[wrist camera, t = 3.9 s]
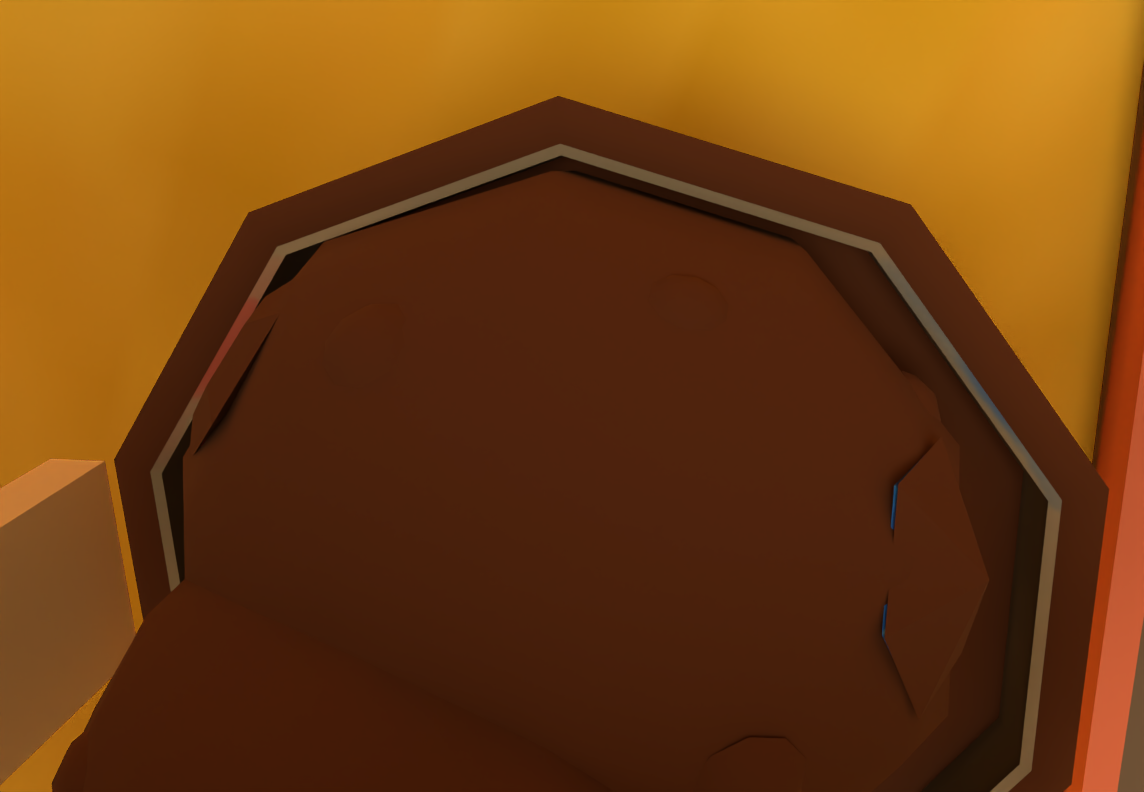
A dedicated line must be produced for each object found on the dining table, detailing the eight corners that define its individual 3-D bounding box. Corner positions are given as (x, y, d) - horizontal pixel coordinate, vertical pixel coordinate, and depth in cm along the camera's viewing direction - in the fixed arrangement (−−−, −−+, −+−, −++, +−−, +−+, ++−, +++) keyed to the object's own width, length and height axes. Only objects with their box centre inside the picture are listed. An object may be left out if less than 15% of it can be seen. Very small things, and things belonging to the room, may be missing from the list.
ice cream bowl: (840, 685, 22) (965, 1787, 8) (331, 514, 23) (-337, 1266, 9) (1060, 187, 19) (1944, 674, 5) (446, 0, 19) (-386, -66, 5)
